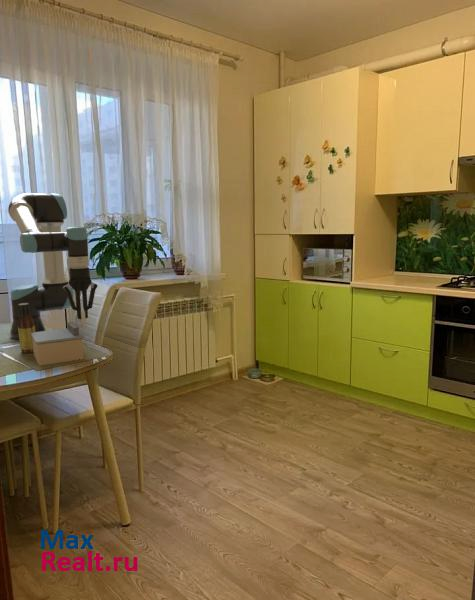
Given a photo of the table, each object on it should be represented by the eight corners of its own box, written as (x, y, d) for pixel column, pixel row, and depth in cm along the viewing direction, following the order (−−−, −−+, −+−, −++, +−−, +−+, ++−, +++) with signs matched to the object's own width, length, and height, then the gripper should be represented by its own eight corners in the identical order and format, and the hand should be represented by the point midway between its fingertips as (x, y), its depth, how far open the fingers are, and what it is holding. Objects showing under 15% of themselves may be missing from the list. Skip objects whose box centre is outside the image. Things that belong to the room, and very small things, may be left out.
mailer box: (33, 355, 186) (32, 335, 185) (75, 349, 194) (74, 330, 192) (39, 365, 172) (37, 344, 171) (84, 358, 180) (82, 338, 179)
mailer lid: (30, 334, 185) (29, 325, 184) (75, 329, 193) (74, 320, 192) (36, 344, 170) (35, 334, 170) (83, 337, 178) (83, 328, 178)
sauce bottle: (31, 348, 196) (26, 301, 192) (40, 350, 193) (36, 302, 189) (16, 352, 190) (12, 304, 187) (26, 354, 187) (22, 305, 184)
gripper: (63, 269, 176) (68, 330, 180) (98, 267, 182) (102, 326, 186) (59, 267, 182) (64, 326, 186) (93, 265, 188) (97, 322, 193)
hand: (83, 326), depth 186 cm, fingers closed
